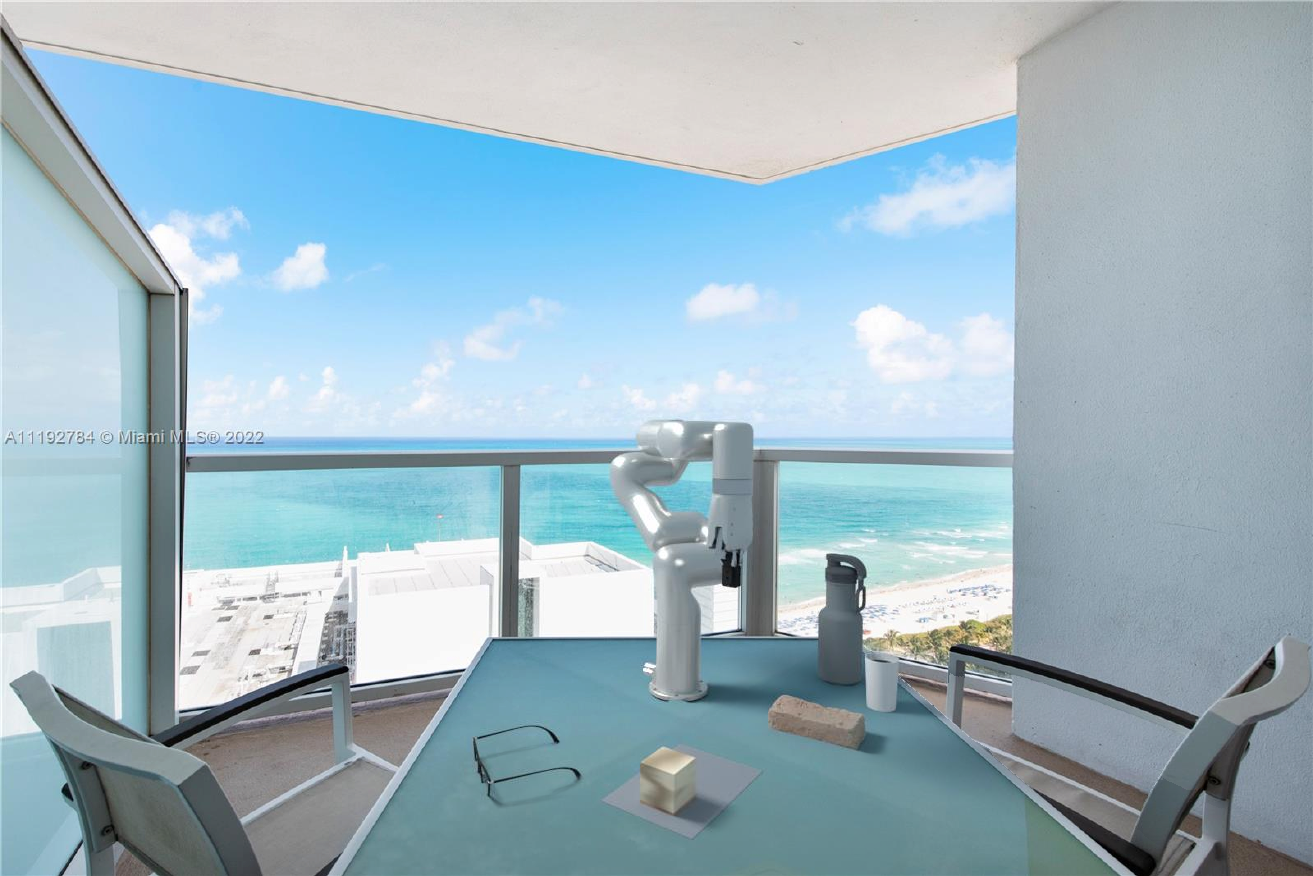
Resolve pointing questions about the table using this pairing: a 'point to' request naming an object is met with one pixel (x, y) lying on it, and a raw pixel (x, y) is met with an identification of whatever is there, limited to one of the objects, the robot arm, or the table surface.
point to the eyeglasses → (481, 766)
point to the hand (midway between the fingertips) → (731, 586)
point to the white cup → (881, 681)
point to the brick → (817, 722)
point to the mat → (712, 793)
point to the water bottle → (842, 621)
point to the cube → (667, 780)
